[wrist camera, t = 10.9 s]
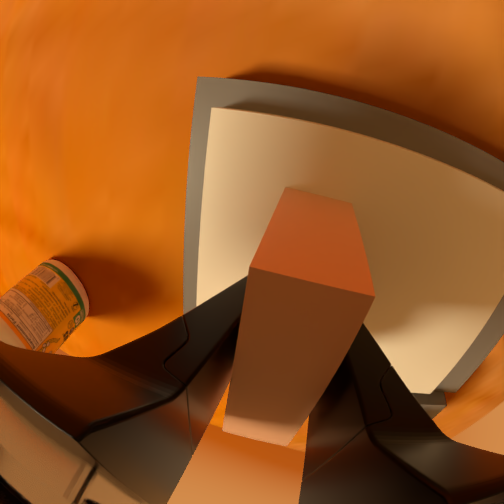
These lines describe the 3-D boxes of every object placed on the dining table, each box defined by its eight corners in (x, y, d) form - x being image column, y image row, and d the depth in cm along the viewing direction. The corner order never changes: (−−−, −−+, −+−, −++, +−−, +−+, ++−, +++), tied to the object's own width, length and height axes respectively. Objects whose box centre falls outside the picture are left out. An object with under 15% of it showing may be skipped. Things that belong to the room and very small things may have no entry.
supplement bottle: (61, 246, 16) (-40, 332, 8) (103, 310, 18) (22, 409, 10) (36, 269, 18) (-42, 339, 10) (72, 321, 20) (5, 399, 12)
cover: (527, 204, 7) (612, 279, 2) (427, 379, 12) (440, 470, 7) (222, 107, 8) (110, 116, 4) (202, 333, 13) (154, 427, 9)
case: (544, 191, 8) (579, 214, 5) (392, 427, 18) (393, 459, 15) (218, 80, 10) (184, 74, 7) (197, 390, 20) (183, 421, 17)
